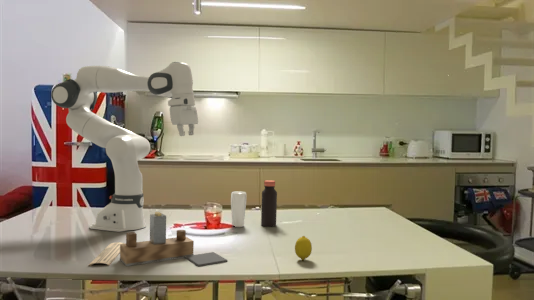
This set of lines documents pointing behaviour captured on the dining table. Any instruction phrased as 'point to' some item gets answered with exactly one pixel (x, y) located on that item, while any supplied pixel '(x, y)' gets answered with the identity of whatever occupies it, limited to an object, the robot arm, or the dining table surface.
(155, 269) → the dining table surface
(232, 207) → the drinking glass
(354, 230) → the dining table surface
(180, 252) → the plane body
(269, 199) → the bottle
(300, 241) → the lemon
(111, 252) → the newspaper
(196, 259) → the pad
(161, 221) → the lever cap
